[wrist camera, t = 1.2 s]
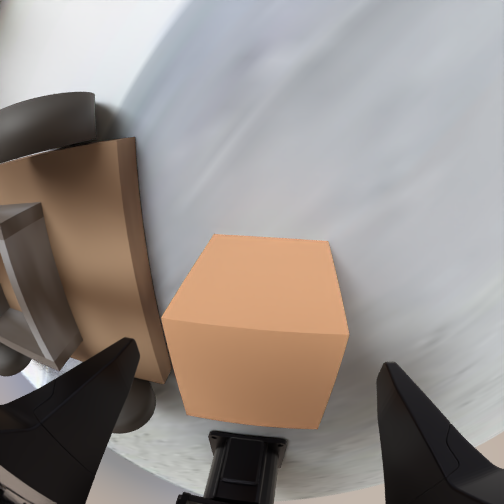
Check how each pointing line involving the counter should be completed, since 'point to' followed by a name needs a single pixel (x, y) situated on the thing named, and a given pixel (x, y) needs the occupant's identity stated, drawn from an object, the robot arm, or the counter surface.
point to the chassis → (74, 247)
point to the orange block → (258, 331)
